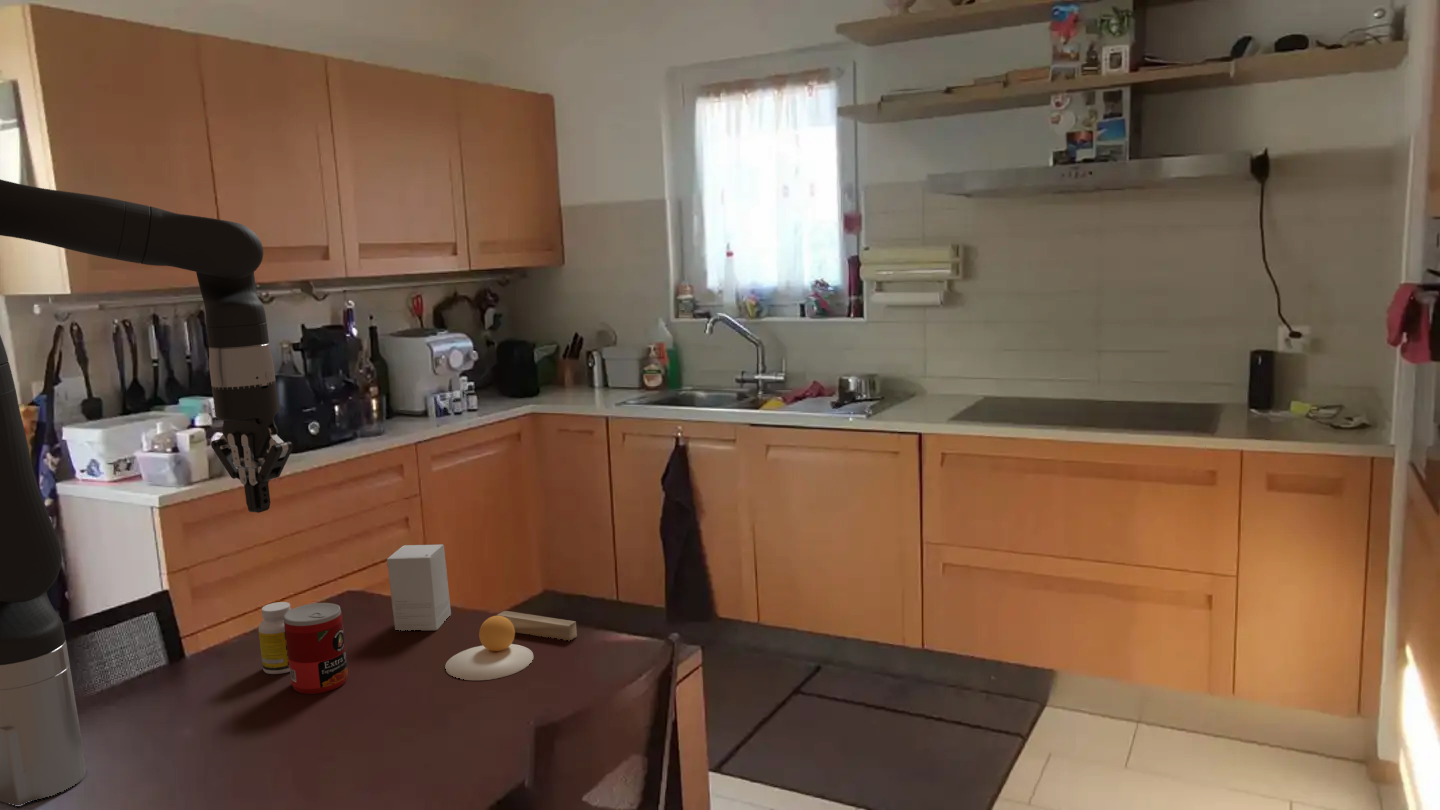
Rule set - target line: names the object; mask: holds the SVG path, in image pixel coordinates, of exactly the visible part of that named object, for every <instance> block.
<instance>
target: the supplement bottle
mask: <svg viewBox="0 0 1440 810" xmlns="http://www.w3.org/2000/svg"><path fill="white" fill-rule="evenodd" d="M291 609H292V608H291V603H290V602H286V601H280V602H279V601H277V602H272V603H269V604H266V605H264V606H263V607H261V616H262V619H263V620H262V621H261V622H260V623H259V624H258V637H259V638H258V639H259V646H260V655H261V664H262V670H263V672H264V673H265V674H269V675H280V674H281V675H282V674H286V673H290V668H289V660H288V652H287V644H286V636H285V628H284V615H285V613H286V612H288V611H289V610H291Z"/></svg>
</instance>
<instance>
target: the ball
mask: <svg viewBox="0 0 1440 810" xmlns="http://www.w3.org/2000/svg"><path fill="white" fill-rule="evenodd" d="M478 636H479V641H480V643H481V646H482V645H483V646H484V647H485V648H487V649H488V650H491V651H502V650H504V649H506V648H508V647H509V646H510V645H511V644H513V642H514V640H515V636H516V632H515V629H514V626H513V624H512V622H511V621H510V620H509V619H507V618H506V617H503V616H497V615H493V616H490V617H488V618H487V619H486V620H485V621H483V623H482V624H481V626H480V628H479V633H478Z"/></svg>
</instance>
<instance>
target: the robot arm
mask: <svg viewBox="0 0 1440 810" xmlns="http://www.w3.org/2000/svg"><path fill="white" fill-rule="evenodd" d="M1 236H2V237H10V238H14V239H19V240H20V239H22V240H26V241H27V240H28V241H32V242H35V243H41V244H46V245H49V246H53V247H58V248H62V249H66V250H68V251H69V250H71V251H73V252H79V253H81V254H82V253H83V254H87V255H92V256H97V257H102V258H106V259H112V260H117V261H123V262H129V263H134V264H141V265H146V266H158V267H159V266H160V267H173V268H178V269H182V270H186V271H191V272H194V273H195V274H196V279H197V282H198V285H199V286H198V287H199V289H200V294H201V298H202V301H203V303H204V304H203V305H204V310H205V312H204V313H205V326H206V336H207V341H208V353H209V354H208V355H209V356H208V357H209V358H208V359H209V360H208V362H209V363H208V366H209V367H208V368H209V375H210V376H209V377H210V383H211V392H212V399H213V408H214V415H215V418H216V419H218V420H219V421H222V427H221V431H222V435H221V436H219V437H220V438H218V439H214V440H212V441H211V442H210V446H211V448H212V450H213V452H214V453H215V455H216V456H217V457H218V459H219V460H220V462H221V464H222V465H223V467H224V469H225V470H226V472H227V473H228V475H229V476H230V478H232V479H233V480H235V479H238V480H239V481H240V483H241V485H243V486H244V496H245V502H246V506H247V510H248V512H249V513H255V514H256V513H257V514H260V513H262V512H266V511H269V509H270V507H271V497H270V487H269V482H270V481H271V480H275V479H277V478H279V477H280V476H281V475H282V472H283V470H284V467H285V466H286V463H287V462H288V459H289V457H290V456H291V453H292V451H293V449H294V445H293V443H292V442H291V441H286V442H285V441H284V440H283V439H281V438H280V436H279V435H278V434H279V429H278V427H277V425H276V422H275V419H274V418H275V416H276V415H277V414H278V413H279V411H280V410H279V409H280V407H279V400H278V399H279V398H278V390H277V382H276V381H277V380H276V373H275V364H274V358H273V354H272V352H271V347H270V341H269V330H268V322H267V316H266V315H267V314H266V311H265V308H264V305H263V303H262V302H261V300H260V298H259V296H258V294H257V293H258V292H257V284H256V277H255V272H256V270H258V268H259V267H260V266H261V264H262V262H263V258H264V247H263V244H262V242H261V239H260V237H259V236H258V235H257V233H255V232H254V231H253V230H252V229H251V228H249V227H248V226H246V225H244V224H241V223H238V222H235V221H229V220H224V219H220V218H219V219H218V218H213V217H205V216H200V215H199V216H197V215H191V214H184V213H183V214H182V213H177V212H173V211H172V212H171V211H169V210H165V209H162V208H158V207H155V206H149V205H146V204H140V203H135V202H132V201H125V200H122V199H117V198H110V197H106V196H99V195H93V194H87V193H86V194H85V193H81V192H80V193H78V192H71V191H65V190H57V189H56V190H55V189H48V188H43V187H42V188H41V187H37V186H32V185H31V186H30V185H27V184H22V183H17V182H13V181H10V180H9V181H8V180H4V179H0V237H1ZM19 404H20V403H19V400H18V395H17V390H16V385H15V381H14V378H13V374H12V369H11V365H10V362H9V357H8V354H7V350H6V348H5V345H4V342H3V339H2V336H1V335H0V802H2V803H5V804H7V803H10V804H14V805H21V804H24V803H26V802H28V801H31V800H36V799H41V798H45V797H48V796H51V795H54V796H56V795H58V794H57V793H59V792H61V793H63V792H65V791H67V790H69V789H71V788H73V787H74V786H75V784H76V785H78V783H80V782H81V781H82V780H83V779H84V778H85V776H86V774H87V768H86V761H85V760H86V759H85V752H84V748H83V741H82V736H81V729H80V721H79V716H78V709H77V704H76V703H77V702H76V696H75V691H74V690H75V689H74V686H73V685H74V684H73V678H72V670H71V664H70V658H69V652H68V644H67V640H66V639H67V638H66V633H65V627H64V622H63V621H62V618H61V617H60V615H59V613H57V611H56V609H55V608H54V606H53V605H52V603H51V600H50V599H49V596H48V593H47V591H48V590H49V589H51V587H52V586H53V585H54V583H55V581H57V579H58V577H59V573H60V571H61V567H62V562H63V559H62V557H63V556H62V555H63V554H62V547H61V544H60V540H59V538H58V536H57V532H56V530H55V527H54V524H53V523H52V519H51V518H50V515H49V512H48V509H47V507H46V505H45V501H44V499H43V497H42V494H41V490H40V489H39V485H38V482H37V480H36V479H37V478H36V476H35V472H34V469H33V463H32V459H31V454H30V449H29V443H28V440H27V439H28V438H27V434H26V430H25V427H24V423H23V422H24V421H23V418H22V414H21V409H20V405H19ZM72 786H73V787H72ZM70 787H71V788H70ZM68 788H69V789H68ZM66 789H67V790H66ZM64 790H65V791H64ZM55 794H56V795H55ZM59 794H60V793H59ZM51 797H52V796H51ZM48 798H49V797H48ZM45 799H46V798H45ZM41 800H42V799H41ZM10 804H9V805H10ZM24 805H25V804H24Z"/></svg>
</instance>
